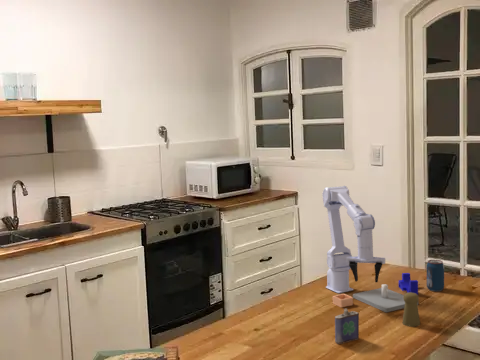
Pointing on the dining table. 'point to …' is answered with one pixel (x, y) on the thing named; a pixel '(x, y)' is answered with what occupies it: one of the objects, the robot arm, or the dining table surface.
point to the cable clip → (408, 284)
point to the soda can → (435, 275)
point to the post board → (382, 299)
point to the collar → (342, 300)
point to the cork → (411, 310)
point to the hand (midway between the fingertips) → (366, 281)
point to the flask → (346, 327)
